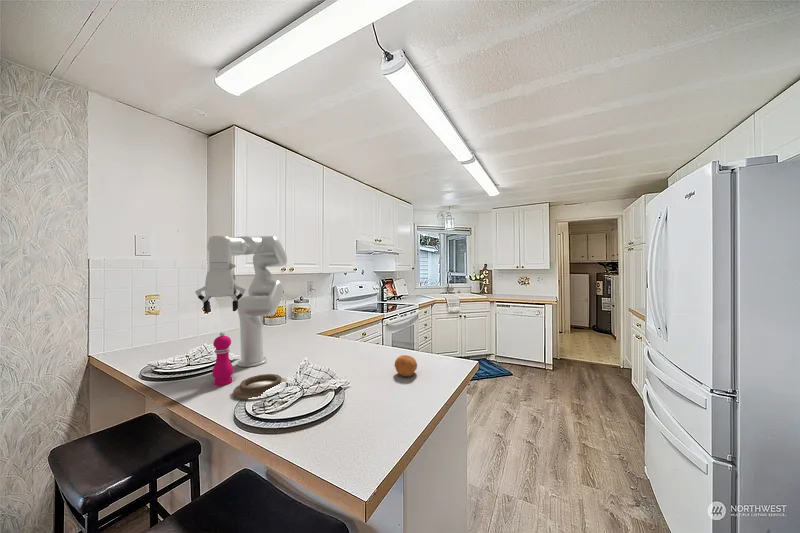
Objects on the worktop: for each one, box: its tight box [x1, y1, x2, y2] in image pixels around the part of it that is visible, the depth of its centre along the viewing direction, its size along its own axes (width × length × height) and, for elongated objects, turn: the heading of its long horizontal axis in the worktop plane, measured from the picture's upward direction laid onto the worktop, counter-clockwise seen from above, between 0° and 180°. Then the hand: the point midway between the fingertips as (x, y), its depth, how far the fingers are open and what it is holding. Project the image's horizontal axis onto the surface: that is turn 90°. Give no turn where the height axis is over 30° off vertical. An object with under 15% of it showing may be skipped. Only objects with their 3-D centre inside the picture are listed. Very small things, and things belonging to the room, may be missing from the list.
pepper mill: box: [211, 331, 235, 387], centre depth 117 cm, size 7×7×20 cm
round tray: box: [232, 373, 287, 401], centre depth 110 cm, size 18×18×3 cm
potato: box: [394, 354, 418, 377], centre depth 123 cm, size 9×11×8 cm
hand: (221, 311), depth 117 cm, fingers open, 9 cm apart
